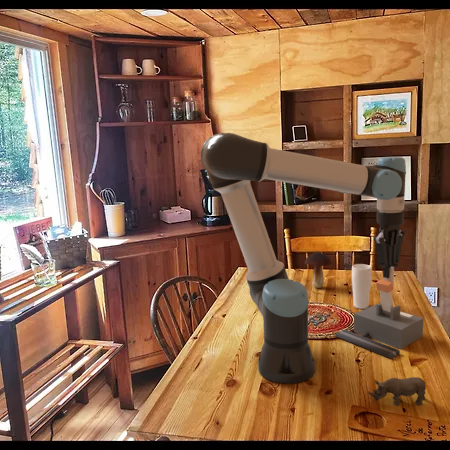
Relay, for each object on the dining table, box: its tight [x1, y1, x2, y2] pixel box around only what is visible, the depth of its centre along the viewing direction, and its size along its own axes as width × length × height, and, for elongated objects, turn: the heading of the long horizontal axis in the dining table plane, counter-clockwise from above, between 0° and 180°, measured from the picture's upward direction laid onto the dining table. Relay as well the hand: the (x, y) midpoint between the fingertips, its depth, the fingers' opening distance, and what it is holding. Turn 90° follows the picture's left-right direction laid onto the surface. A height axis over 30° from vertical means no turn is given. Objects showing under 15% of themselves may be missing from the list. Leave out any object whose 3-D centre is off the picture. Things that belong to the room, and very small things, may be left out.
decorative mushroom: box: [304, 251, 333, 289], centre depth 180 cm, size 11×11×15 cm
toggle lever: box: [375, 278, 395, 315], centre depth 134 cm, size 2×4×11 cm, turn 37°
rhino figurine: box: [367, 376, 427, 407], centre depth 102 cm, size 4×14×6 cm, turn 90°
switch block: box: [353, 302, 424, 350], centre depth 136 cm, size 12×16×10 cm
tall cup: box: [351, 263, 373, 310], centre depth 158 cm, size 7×7×15 cm
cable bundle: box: [335, 329, 401, 359], centre depth 131 cm, size 8×19×1 cm, turn 38°
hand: (388, 287), depth 134 cm, fingers closed
